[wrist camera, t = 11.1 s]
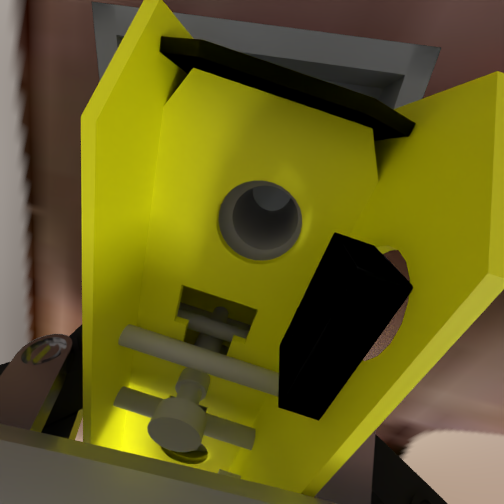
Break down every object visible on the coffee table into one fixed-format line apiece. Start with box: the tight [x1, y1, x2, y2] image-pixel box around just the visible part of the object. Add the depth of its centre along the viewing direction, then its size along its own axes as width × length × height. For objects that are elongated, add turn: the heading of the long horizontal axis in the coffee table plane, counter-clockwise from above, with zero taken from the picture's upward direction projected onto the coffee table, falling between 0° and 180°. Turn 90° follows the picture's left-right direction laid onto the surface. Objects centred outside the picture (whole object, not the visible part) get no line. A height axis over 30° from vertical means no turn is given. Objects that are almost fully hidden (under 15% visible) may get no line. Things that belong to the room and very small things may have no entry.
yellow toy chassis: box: [81, 0, 504, 497], centre depth 8 cm, size 16×6×8 cm, turn 163°
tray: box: [92, 2, 441, 211], centre depth 13 cm, size 12×22×2 cm, turn 172°
